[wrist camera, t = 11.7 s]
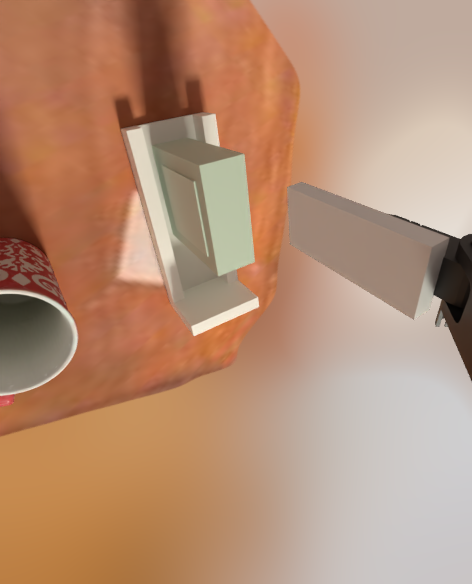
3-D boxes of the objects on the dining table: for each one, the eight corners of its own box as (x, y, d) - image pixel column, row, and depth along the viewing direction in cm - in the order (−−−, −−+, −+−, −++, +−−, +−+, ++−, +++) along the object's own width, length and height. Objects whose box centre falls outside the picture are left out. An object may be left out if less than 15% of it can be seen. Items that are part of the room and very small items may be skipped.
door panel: (150, 145, 35) (197, 166, 26) (188, 137, 36) (245, 153, 27) (171, 234, 40) (216, 276, 31) (204, 224, 42) (256, 261, 33)
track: (120, 128, 33) (143, 137, 27) (202, 112, 36) (240, 116, 30) (170, 303, 45) (193, 336, 39) (228, 279, 49) (258, 306, 43)
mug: (-44, 216, 30) (-72, 281, 20) (68, 237, 35) (89, 297, 25) (-56, 337, 34) (-85, 442, 24) (46, 339, 39) (57, 426, 29)
